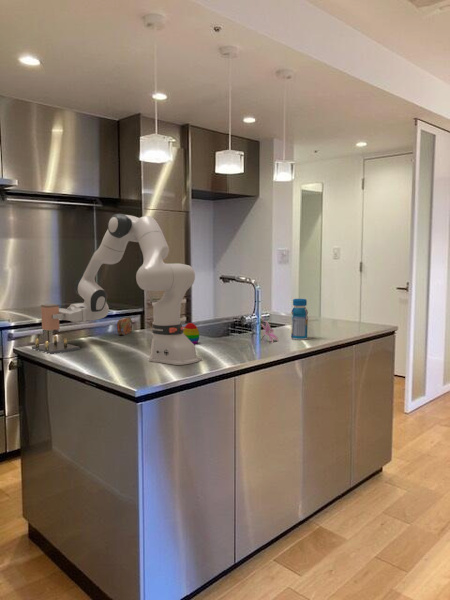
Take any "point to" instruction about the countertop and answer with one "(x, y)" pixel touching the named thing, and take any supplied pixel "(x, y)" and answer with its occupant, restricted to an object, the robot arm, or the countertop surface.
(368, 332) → the countertop surface
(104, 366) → the countertop surface
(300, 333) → the beverage bottle
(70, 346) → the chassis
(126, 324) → the tin
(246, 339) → the countertop surface
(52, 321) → the block
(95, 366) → the countertop surface
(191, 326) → the decorative egg
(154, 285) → the robot arm
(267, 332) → the lily
